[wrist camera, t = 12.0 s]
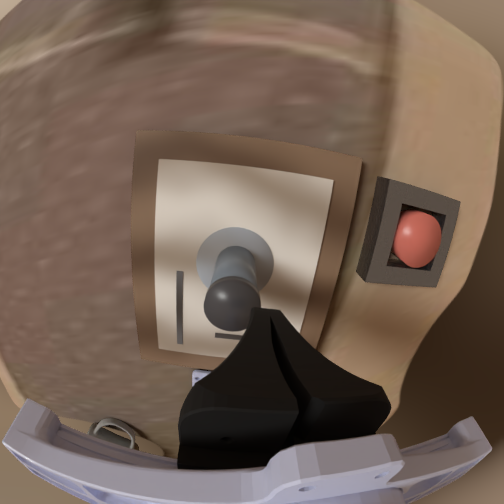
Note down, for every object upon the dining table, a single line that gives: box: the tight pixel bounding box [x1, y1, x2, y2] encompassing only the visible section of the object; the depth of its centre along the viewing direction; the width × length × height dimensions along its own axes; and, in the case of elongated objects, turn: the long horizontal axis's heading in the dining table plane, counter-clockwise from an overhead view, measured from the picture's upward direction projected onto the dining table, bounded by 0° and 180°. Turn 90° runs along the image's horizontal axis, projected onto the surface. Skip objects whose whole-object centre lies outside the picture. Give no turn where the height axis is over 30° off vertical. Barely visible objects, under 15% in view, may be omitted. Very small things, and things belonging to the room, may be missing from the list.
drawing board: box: [131, 130, 363, 370], centre depth 20 cm, size 20×16×1 cm
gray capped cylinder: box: [204, 246, 261, 332], centre depth 17 cm, size 3×3×6 cm
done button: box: [391, 209, 441, 268], centre depth 19 cm, size 4×4×2 cm
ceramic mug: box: [88, 418, 139, 451], centre depth 27 cm, size 11×8×8 cm
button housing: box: [356, 177, 460, 287], centre depth 19 cm, size 8×8×2 cm
